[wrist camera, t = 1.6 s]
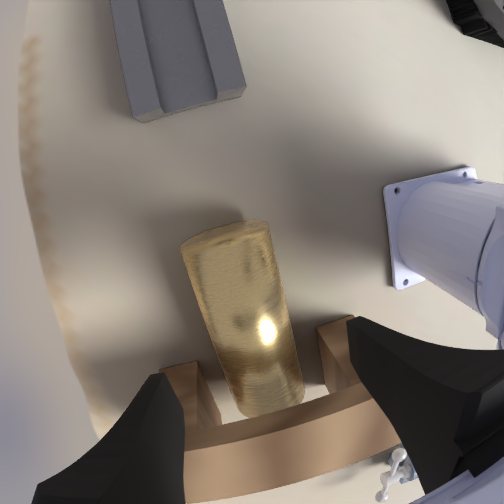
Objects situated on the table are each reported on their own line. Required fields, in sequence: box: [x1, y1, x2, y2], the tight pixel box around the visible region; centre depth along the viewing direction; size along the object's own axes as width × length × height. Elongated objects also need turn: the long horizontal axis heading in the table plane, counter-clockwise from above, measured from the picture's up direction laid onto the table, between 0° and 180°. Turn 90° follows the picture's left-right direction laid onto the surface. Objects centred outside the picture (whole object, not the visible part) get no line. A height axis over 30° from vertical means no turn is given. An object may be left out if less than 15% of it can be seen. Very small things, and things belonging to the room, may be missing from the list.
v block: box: [110, 0, 246, 123], centre depth 15 cm, size 6×11×3 cm, turn 14°
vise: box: [375, 443, 418, 502], centre depth 27 cm, size 18×10×7 cm, turn 94°
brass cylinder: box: [180, 220, 305, 418], centre depth 20 cm, size 5×12×5 cm, turn 14°
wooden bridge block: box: [159, 315, 402, 504], centre depth 20 cm, size 15×6×8 cm, turn 104°
